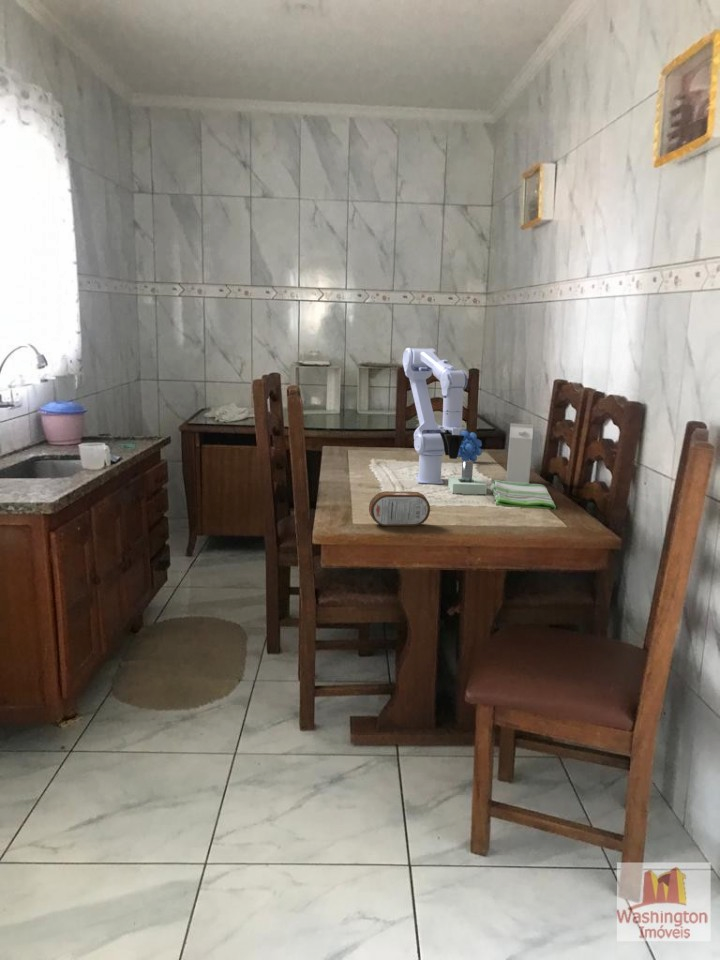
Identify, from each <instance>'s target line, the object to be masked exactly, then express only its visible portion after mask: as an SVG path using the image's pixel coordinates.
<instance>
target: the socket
mask: <svg viewBox="0 0 720 960" xmlns="http://www.w3.org/2000/svg"><path fill="white" fill-rule="evenodd" d="M461 478H462V476H460V477H456V476H455V477H454V476H452V477H451V476H450V477H449V476H448V480H447V481H448V482H447V487H448V489H449V488H450V489H449V490H451V491H452V492H451V491H450V492H451V494H452V493H462V494H461V495H477V494H485V496H486V495H487V487H488V485H487V483H486V482H485V481H484V479H482V478H481V477H472V483H463V482H461Z"/></svg>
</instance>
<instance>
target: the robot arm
mask: <svg viewBox="0 0 720 960" xmlns="http://www.w3.org/2000/svg"><path fill="white" fill-rule="evenodd" d="M402 365H403V370H404V374H405V376H406V377H407V378H408V379H409V382H410V389H411V392H412V396H413V401H414V406H415V409H416V415H417V419H418V423H419V426H418V427H417V428H416V429H415V430H414V432H413V440H414V441H413V447H414V449H415V451H416V453H417V454H418V455H419V457H418V473H417V475H415V476H414V477H415V480H416V482H417V483H418V484H430V485H431V484H435V485H437V484H439V485H441V484H442V485H443V484H444V481H443V480H442V466H443V465H442V462H443V455H445V456H448V457H449V459H451V460H454V459H458V457H457V456H458V452H459V448H460V445H461V442H462V440H463V439H464V436H463V435H461V431H463V406H464V404H463V403H464V402H463V401H464V399H463V398H464V390H466V388H467V386H468V374H467V372H466V371H465V370H464V369H460V370H457V369H456V368H455V366H453V365H451V364H450V363H449V360H448V359H442V360H441V359H440V358H439V357H438V355H437V350H436V349H434V348H432V347H430V348H417V347H416V348H413V347H406V348H405V350H404V351H403V355H402ZM432 375H433V376H434V377H435V378H436V380H438V381H439V383H440V387H441V395H442V396H443V397H442V398H443V399H442V400H443V403H442V425H440V424H439V423H437V421H436V418H435V413H434V410H433V405H432V401H431V397H430V393H429V388H428V384H427V379H429V378H430V377H432ZM459 434H460V435H459Z"/></svg>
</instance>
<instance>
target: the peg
mask: <svg viewBox="0 0 720 960" xmlns="http://www.w3.org/2000/svg"><path fill="white" fill-rule="evenodd" d="M473 471H474V462H473V461H471V460H469V461H462V465H461V482H463V483H472V478H473V473H474V472H473Z"/></svg>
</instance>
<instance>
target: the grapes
mask: <svg viewBox="0 0 720 960" xmlns="http://www.w3.org/2000/svg"><path fill="white" fill-rule="evenodd" d="M459 435H463V436H464V439H463V440H462V442H461V445H460V448H459V452H458V456H457V458H461V460H462V462H463V461H473V463H474V462H477V460H478V457H480V456H481V455H482V454H483V451H482V448H481V447H482V445H483V443H482V440H480V439H479V438H477V437H478V436H477V434H476V433H475V432H473V431H472V432H469V431H468V430H466V429H462V430H461V431H460V434H459Z"/></svg>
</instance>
